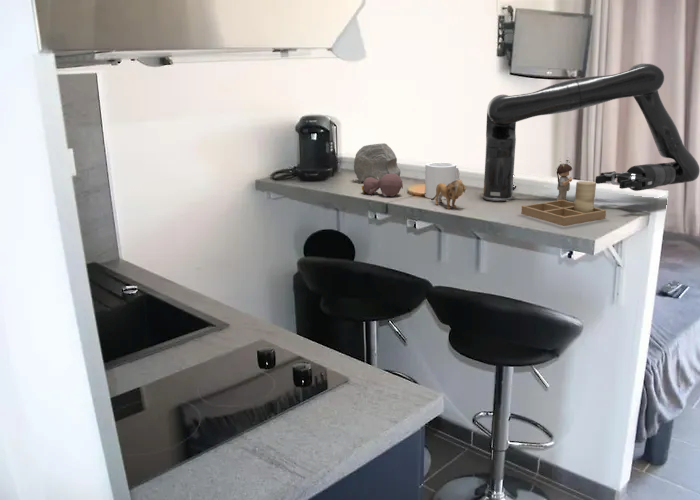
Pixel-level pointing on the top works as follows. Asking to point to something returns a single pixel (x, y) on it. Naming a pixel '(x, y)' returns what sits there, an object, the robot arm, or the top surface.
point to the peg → (585, 196)
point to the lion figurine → (449, 192)
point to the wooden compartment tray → (561, 213)
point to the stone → (375, 162)
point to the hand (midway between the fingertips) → (608, 182)
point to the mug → (439, 176)
